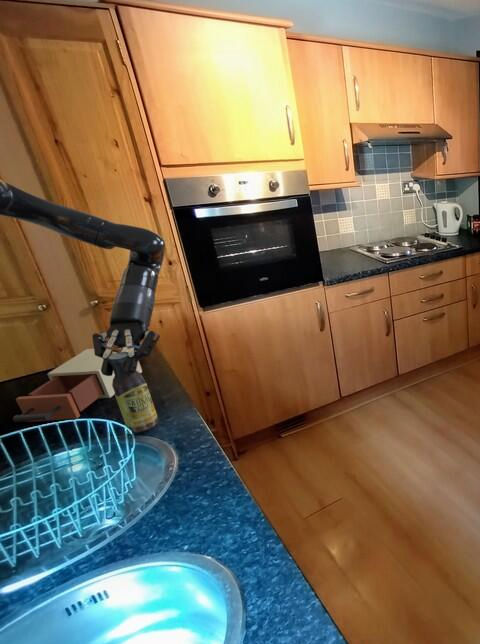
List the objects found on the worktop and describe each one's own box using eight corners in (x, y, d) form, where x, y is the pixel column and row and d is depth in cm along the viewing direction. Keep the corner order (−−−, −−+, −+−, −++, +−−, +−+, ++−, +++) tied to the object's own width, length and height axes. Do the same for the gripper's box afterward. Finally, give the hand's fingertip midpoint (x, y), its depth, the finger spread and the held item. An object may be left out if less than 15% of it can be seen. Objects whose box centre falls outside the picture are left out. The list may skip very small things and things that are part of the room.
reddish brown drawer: (62, 430, 112) (50, 407, 109) (9, 434, 111) (-4, 410, 108) (112, 390, 129) (104, 369, 126) (68, 393, 128) (58, 372, 125)
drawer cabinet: (110, 397, 127) (98, 370, 124) (59, 401, 126) (46, 373, 122) (142, 371, 140) (133, 346, 137) (97, 374, 139) (86, 348, 135)
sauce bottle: (139, 436, 109) (109, 364, 101) (122, 430, 111) (92, 360, 103) (166, 420, 115) (140, 351, 107) (149, 415, 117) (123, 347, 109)
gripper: (90, 301, 106) (70, 372, 100) (155, 299, 108) (140, 368, 102) (113, 313, 113) (96, 380, 107) (174, 311, 115) (160, 376, 109)
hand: (117, 374), depth 105 cm, fingers closed on sauce bottle, 4 cm apart
